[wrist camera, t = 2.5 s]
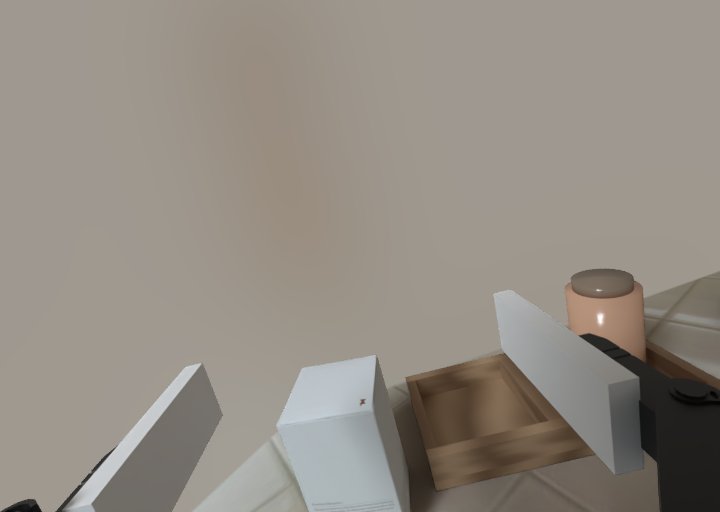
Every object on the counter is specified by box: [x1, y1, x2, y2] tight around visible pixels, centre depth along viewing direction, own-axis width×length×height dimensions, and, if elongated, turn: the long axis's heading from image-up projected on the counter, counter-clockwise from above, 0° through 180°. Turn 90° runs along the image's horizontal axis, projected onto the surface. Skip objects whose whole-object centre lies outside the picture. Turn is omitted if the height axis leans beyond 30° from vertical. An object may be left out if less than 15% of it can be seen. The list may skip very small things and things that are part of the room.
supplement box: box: [276, 355, 410, 512], centre depth 28 cm, size 7×7×13 cm
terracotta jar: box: [565, 269, 647, 363], centre depth 33 cm, size 6×6×12 cm
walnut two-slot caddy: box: [406, 339, 720, 491], centre depth 35 cm, size 26×12×4 cm, turn 93°
